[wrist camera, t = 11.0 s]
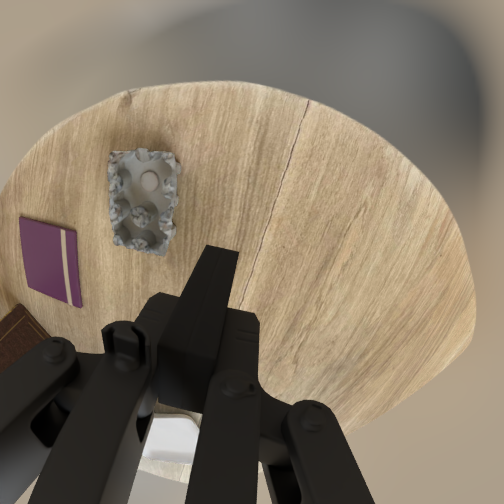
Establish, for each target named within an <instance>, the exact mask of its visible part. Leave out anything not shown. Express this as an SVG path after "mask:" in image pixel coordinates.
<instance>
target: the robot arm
mask: <svg viewBox="0 0 504 504" xmlns="http://www.w3.org/2000/svg"><path fill="white" fill-rule="evenodd" d="M238 256H239V252H237V251H233V250H228V249H224V248H219V247H215V246H210V245H206V247H205V248H204V250H203V252H202V254H201V256H200V258H199V260H198V262H197V264H196V266H195V268H194V270H193V272H192V274H191V276H190V278H189V280H188V282H187V284H186V286H185V288H184V290H183V292H182V294H181V296H180V297H177V296H173V295H169V294H165V293H161V292H159V293H157V294H155V295H154V296H152V297H150V298H149V300H148V301H147V303H146V304H145V306H144V308H143V309H142V310H141V312H140V314H139V316H138V317H137V318H136V320H135V322H131V321H115V322H113V323H110V324H108V325H106V326H105V327H104V328H103V329H102V330H101V332H102V338H103V344H104V350H105V353H103V354H90V353H81V352H76V350H75V346H74V345H73V344H72V343H71V342H70V341H69V340H67V339H65V338H62V337H51V338H47V339H45V340H43V341H41V342H40V343H38V344H37V345H36V346H34V347H33V348H32V349H31V350H29V351H28V352H27V353H25V354H24V355H23V356H22V357H20V358H19V359H18V360H17V361H15V362H14V363H13V364H12V365H10V366H9V367H8V368H7V369H6V370H4V371H3V372H2V373H1V374H0V504H14V503H15V502H16V501H17V500H18V499H19V497H20V496H21V495H22V494H23V493H24V492H25V490H26V489H27V488H28V487H29V486H30V485H31V483H32V482H33V481H34V480H35V479H36V478H37V476H39V477H38V480H37V482H36V485H35V487H34V489H33V492H32V494H31V496H30V499H29V502H28V504H127V503H128V499H129V496H130V492H131V489H132V485H133V482H134V479H135V475H136V472H137V469H138V466H139V462H140V459H141V456H142V453H143V450H144V446H145V443H146V440H147V437H148V434H149V431H150V428H151V425H152V422H153V419H154V412H155V411H154V406H155V403H156V400H157V398H158V402H159V403H161V404H165V405H168V406H172V407H176V408H180V409H184V410H188V411H192V412H196V413H200V414H203V416H202V420H201V425H200V430H199V435H198V440H197V445H196V449H195V454H194V459H193V464H192V469H191V474H190V479H189V484H188V489H187V495H186V500H185V504H256V502H257V483H258V462H259V461H260V462H261V463H262V467H263V471H264V475H265V478H266V482H267V486H268V490H269V493H270V497H271V500H272V504H375V503H374V500H373V498H372V496H371V494H370V492H369V489H368V487H367V485H366V482H365V480H364V478H363V476H362V474H361V471H360V469H359V467H358V465H357V463H356V460H355V458H354V456H353V454H352V452H351V449H350V447H349V445H348V443H347V441H346V439H345V436H344V434H343V432H342V430H341V427H340V425H339V423H338V421H337V419H336V417H335V415H334V413H333V412H332V411H331V409H330V408H328V407H327V406H326V405H324V404H323V403H320V402H317V401H315V400H302V401H299V402H296V403H295V404H294V405H293V406H292V405H290V404H287V403H285V402H282V401H280V400H277V399H275V398H273V397H272V396H270V395H269V394H268V393H266V392H265V391H264V390H263V388H262V387H261V385H260V383H259V381H258V357H259V332H260V322H259V321H258V319H257V317H256V315H255V313H251V312H247V311H242V310H237V309H232V308H228V307H227V306H228V301H229V297H230V292H231V287H232V283H233V278H234V274H235V269H236V265H237V260H238ZM39 474H40V475H39Z"/></svg>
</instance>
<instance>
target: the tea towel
mask: <svg viewBox="0 0 504 504" xmlns="http://www.w3.org/2000/svg"><path fill="white" fill-rule="evenodd" d="M19 226H20V237H21V246H22V253H23V260H24V267H25V273H26V278H27V283H28V287H30V288H32V289H34V290H36V291H39V292H41V293H43V294H46V295H48V296H50V297H53V298H55V299H58V300H60V301H63V302H65V303H68V304H69V305H71V306H76V307H78V308H82V298H81V290H80V281H79V270H78V256H77V232H76V231H74V230H70V229H67V228H63V227H59V226H55V225H51V224H47V223H44V222H40V221H36V220H32V219H29V218H25V217H19Z"/></svg>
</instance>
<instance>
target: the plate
mask: <svg viewBox="0 0 504 504" xmlns="http://www.w3.org/2000/svg"><path fill="white" fill-rule="evenodd" d="M199 430H200V429H199V428H198V426H197V425H196V423H195V421H194V420H193V419H192V418H191V417H190V416H188V415H185V414H162V413H154V419H153V422H152V425H151V428H150V431H149V434H148V437H147V440H146V443H145V446H144V450H143V453H142V455H143V456H144V457H145V458H147V459H150V460H155V461H162V462H169V463H178V464H189V465H192V464H193V459H194V454H195V449H196V445H197V440H198V435H199Z"/></svg>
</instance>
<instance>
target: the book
mask: <svg viewBox="0 0 504 504" xmlns="http://www.w3.org/2000/svg"><path fill="white" fill-rule="evenodd" d="M47 338H51V336H50V335H49V334H48V333H47V332H46V331H45V330H44V329H43V328H42V326H41V325H40V324H39V323H38V322H37V321H36V320H35V319H34V317H33V316H32V315H31V314H30V313H29V312H28V310H27V309H26V308H25V307H24V306H23V305H22V304H17V305H16V306H15V307H14V308H13V309H12V310H11V311H9V312H8V313H7V314H6V315H5V316H4V317H3V318H2V319H1V320H0V374H1V373H2V372H3V371H4V370H6V369H7V368H8V367H9V366H10V365H12V364H13V363H14V362H15V361H17V360H18V359H19V358H20V357H22V356H23V355H24V354H25V353H27V352H28V351H29V350H31V349H32V348H33V347H34V346H36V345H37V344H38V343H40V342H41V341H43V340H45V339H47Z"/></svg>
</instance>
